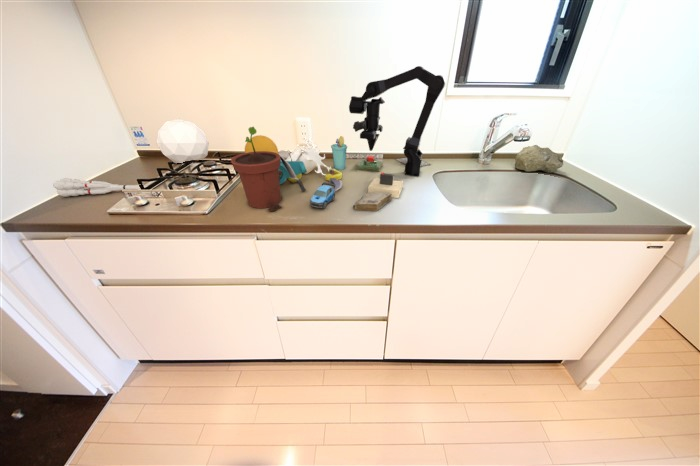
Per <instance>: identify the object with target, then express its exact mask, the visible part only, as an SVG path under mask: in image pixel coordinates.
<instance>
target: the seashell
mask: <svg viewBox="0 0 700 466" xmlns="http://www.w3.org/2000/svg"><path fill="white" fill-rule="evenodd" d="M291 153H292V152H291V151H290V150H284V149H281V150H279V151H278V154H279V155H280V156H281V157H282V158H284V159H285V160H286V159H287V158H288V157H289V154H291ZM280 160H281V159H280ZM278 172H279V173H280V172H281V173H282V171H281V170H279V169H278Z"/></svg>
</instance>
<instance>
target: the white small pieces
mask: <svg viewBox="0 0 700 466" xmlns="http://www.w3.org/2000/svg"><path fill="white" fill-rule="evenodd" d="M309 138H310V139H311V140H312V138H313V136H311V137H309ZM309 138H308V139H307V142H308V143H310V139H309ZM303 146H304V147H305V148H306V147H307V145H306V143H305V144H304V145H303ZM302 153H303V151H302V150H301V149H298V148H295V149H294V150H293V151H292V152H291V154H290V155H289V157H288V158H287V159H286V161H291V159H292V161H296V160H297V159H298V157H300V156H301V155H302ZM290 156H291V157H290Z"/></svg>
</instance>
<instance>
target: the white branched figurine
mask: <svg viewBox="0 0 700 466" xmlns="http://www.w3.org/2000/svg"><path fill="white" fill-rule="evenodd" d="M310 138H311V137H309V138H308V139H310ZM308 139H307V138H306V136H304V141H305V144H306V146H305V147H304V145H302V146H300V144H297V147H298V148H299V150H300V151H301V150H302V152H301V155H300V156H299V157H298V159H297V160H296V161H303V163H304V165H305V168H306V170H307V172H306V173H304V174H305V175H308V174H309V173H310V172H312V171H313V170H314V172H315V173H316V174H321V175H322V176H325V175H326V173H323V170H322V167H324V168H326V169H327V172H328V173H329V169H331V168H332V166H331V165H330V166H328V165H326V164H325V163H324V162H323V160H325V159H326V154H325V153H323V156H321V155H320V153H321V150H320V149H318V145H317V144H316V142H314V141H313V140H312V139H310V141H309V142H307V141H308ZM309 143H310V144H311V145H312V146H310V144H309ZM306 147H307V148H306ZM316 148H317V149H318V150H316ZM321 166H322V167H321ZM316 168H317V170H316Z"/></svg>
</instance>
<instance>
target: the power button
mask: <svg viewBox="0 0 700 466" xmlns="http://www.w3.org/2000/svg"><path fill="white" fill-rule="evenodd" d="M366 158H367V161H374V158H375V156H374V155H367V156H366Z"/></svg>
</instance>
